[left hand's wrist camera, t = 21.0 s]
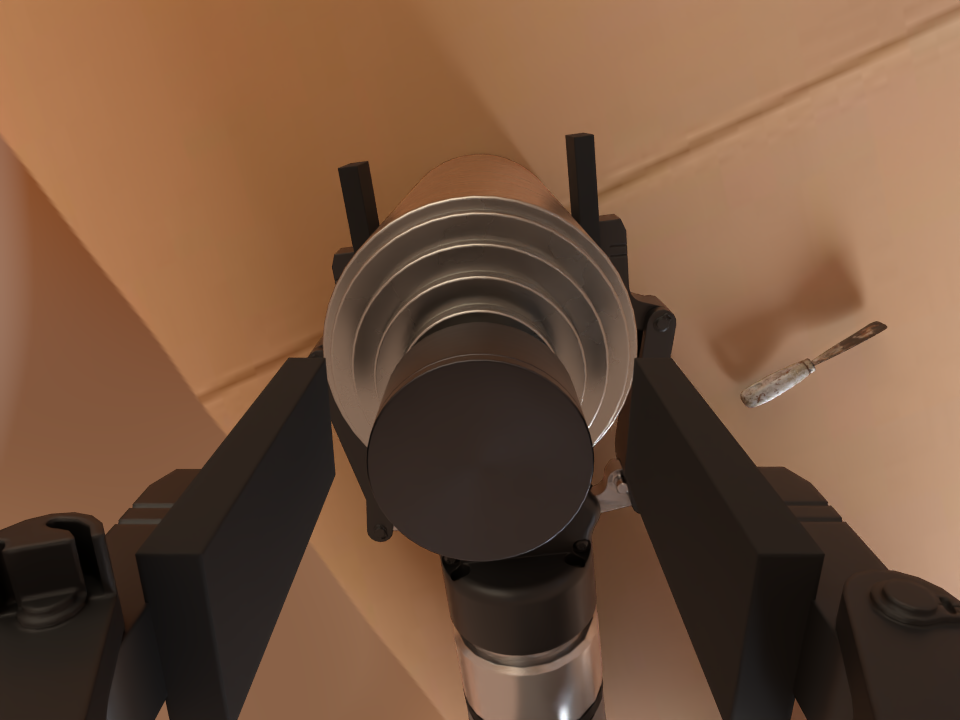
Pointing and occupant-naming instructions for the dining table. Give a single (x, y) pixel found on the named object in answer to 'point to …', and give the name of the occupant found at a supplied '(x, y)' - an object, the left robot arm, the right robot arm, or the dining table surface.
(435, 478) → the cap
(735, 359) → the dining table surface
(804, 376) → the putty knife
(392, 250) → the bottle
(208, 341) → the dining table surface
